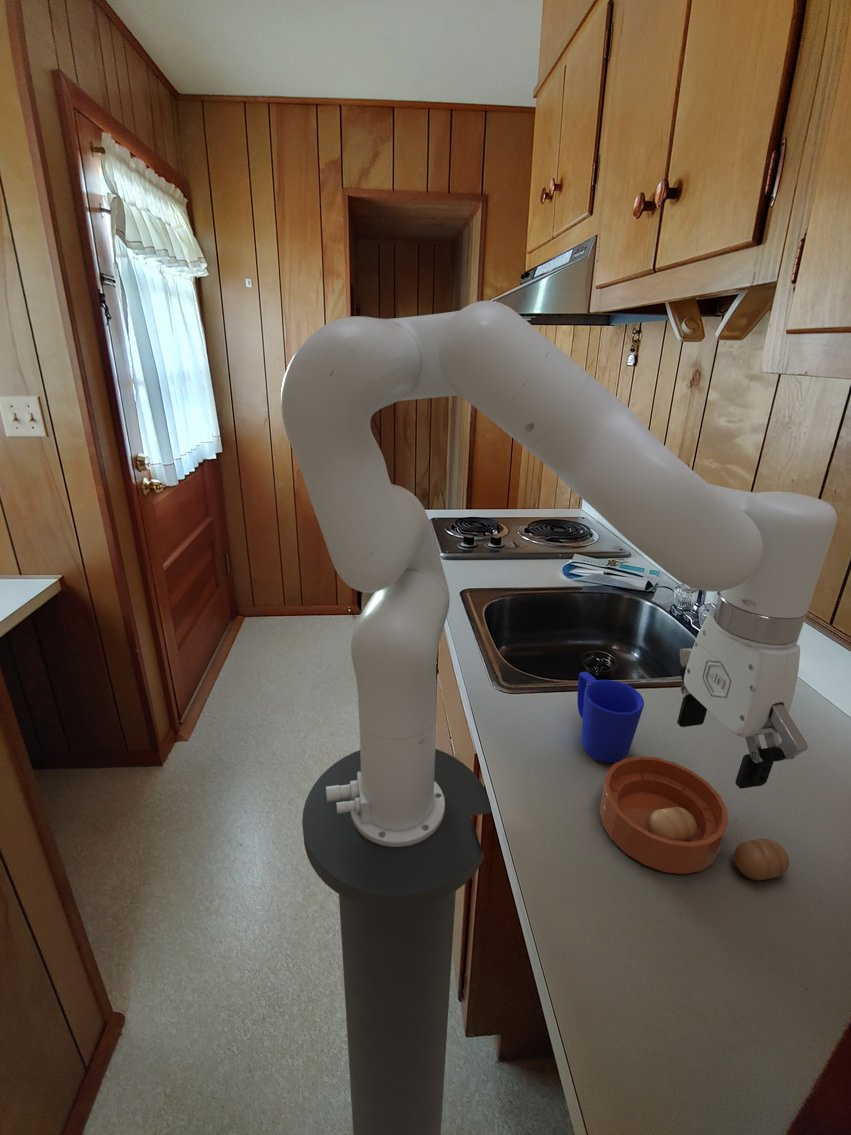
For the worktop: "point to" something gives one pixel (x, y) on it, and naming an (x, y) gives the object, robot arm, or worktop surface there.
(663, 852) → the bowl
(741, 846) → the egg dark
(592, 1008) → the worktop surface
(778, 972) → the worktop surface
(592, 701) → the mug
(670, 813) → the egg light
